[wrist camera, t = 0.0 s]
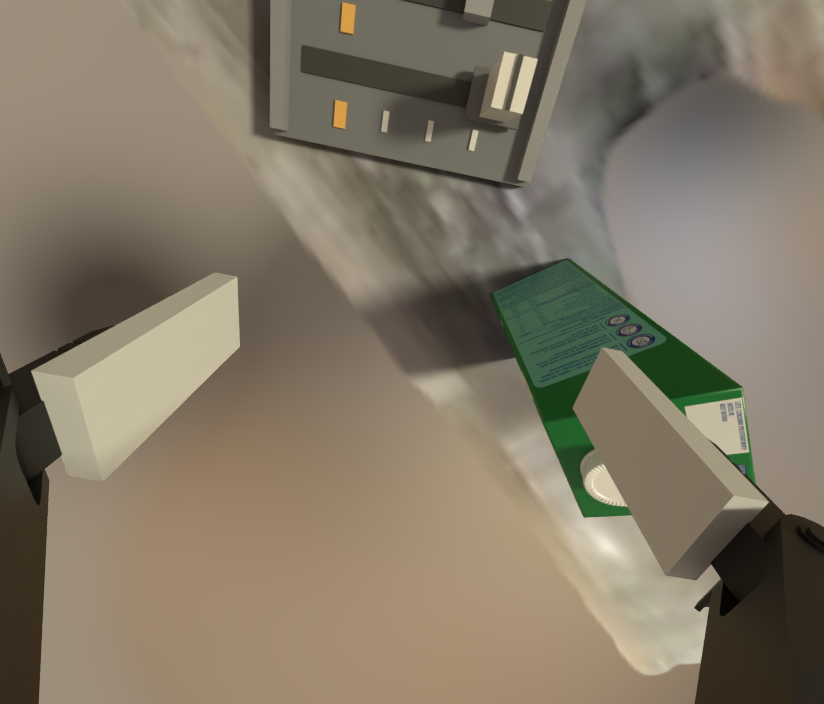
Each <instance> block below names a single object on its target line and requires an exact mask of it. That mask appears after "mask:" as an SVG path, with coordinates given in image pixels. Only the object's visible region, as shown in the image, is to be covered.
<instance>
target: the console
mask: <svg viewBox="0 0 824 704" xmlns="http://www.w3.org/2000/svg"><path fill="white" fill-rule="evenodd" d="M586 1H587V0H270V127H271V128H273V134H275V135H280V136H284V137H289V138H294V139H299V140H303V141H308V142H313V143H318V144H322V145H327V146H332V147H337V148H341V149H346V150H351V151H356V152H360V153H365V154H370V155H375V156H379V157H384V158H389V159H394V160H398V161H403V162H408V163H413V164H417V165H422V166H427V167H432V168H436V169H441V170H446V171H451V172H455V173H460V174H465V175H470V176H474V177H479V178H484V179H489V180H493V181H498V182H503V183H508V184H512V185H517V186H522V187H526V188H528V186H529V182H531V179H532V176H533V173H534V169H535V166H536V163H537V160H538V156H539V153H540V150H541V147H542V144H543V140H544V137H545V134H546V131H547V127H548V124H549V121H550V118H551V114H552V111H553V108H554V105H555V101H556V98H557V95H558V92H559V88H560V85H561V82H562V79H563V75H564V72H565V69H566V66H567V62H568V59H569V56H570V53H571V49H572V46H573V43H574V40H575V36H576V33H577V30H578V27H579V23H580V20H581V17H582V14H583V10H584V7H585V4H586ZM504 51H505V52H509V53H514V54H518V55H519V54H522V55H524V56H527V57H531V58H536V59H538V61H537V64H536V68H535V71H534V75H533V79H532V82H531V86H530V90H529V93H528V97H527V100H526V104H525V108H524V111H523V114H522V115H521V119H520V122H519V126H518V129H517V130H512V129H508V128H503V127H498V126H494V125H489V124H485V123H480V122H475V121H471V120H466V119H464V114H465V110H466V105H467V100H468V96H469V91H470V86H471V82H472V77H473V72H474V68H475V66H481V67H485V68H490V69H493V67H494V66H495V64H496V63H497V61H498V60H499V58H500V57H501V56H502V54H503V53H504Z"/></svg>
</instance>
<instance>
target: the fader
mask: <svg viewBox="0 0 824 704" xmlns="http://www.w3.org/2000/svg"><path fill="white" fill-rule="evenodd" d="M537 61H538V59H536V58H531V57H527V56H524V55H522V54H519V55H518V54H514V53H509V52H505V51H504V53H503V54H502V56H501V57H500V58H499V60H498V61H497V63H496V64H495V66H494V67H493V69H490V68H485V67H481V66H475V68H474V72H473V77H472V82H471V86H470V91H469V96H468V100H467V105H466V110H465V114H464V119H466V120H471V121H475V122H480V123H485V124H489V125H494V126H498V127H503V128H508V129H512V130H517V129H518V126H519V122H520V119H521V115H522V114H523V111H524V108H525V104H526V100H527V97H528V93H529V90H530V86H531V82H532V79H533V75H534V71H535V68H536V64H537Z"/></svg>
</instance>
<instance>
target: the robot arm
mask: <svg viewBox="0 0 824 704" xmlns="http://www.w3.org/2000/svg"><path fill="white" fill-rule="evenodd" d="M238 314H239V312H238V287H237V277H235V276H230V275H225V274H220V273H213V274H211V275H210V276H207V277H206V278H204V279H202V280H200V281H198V282H196V283H194V284H192V285H191V286H189V287H187V288H185V289H183V290H181V291H180V292H177V293H176V294H174V295H172V296H170V297H168V298H166V299H164V300H163V301H161V302H159V303H157V304H155V305H153V306H151V307H150V308H148V309H146V310H144V311H142V312H140V313H138V314H136V315H135V316H133V317H131V318H129V319H127V320H125V321H123V322H121V323H120V324H118V325H113V326H110V327H106V328H102V329H99V330H95V331H92V332H90V333H88V334H86V335H84V336H82V337H80V338H78V339H76V340H74V341H73V343H68V344H66V345H64V346H62V347H60V348H58V351H53V352H51V353H49V354H47V355H45V356H43V357H41V358H39V359H37V360H35V361H33V362H31V363H29V364H27V365H25V366H24V367H22V368H19V369H18V370H16V371H14V372H12V373H10V374H8V372H7V370H6V367H5V364H4V362H3V359H2V357H1V354H0V704H39V684H40V663H41V641H42V621H43V600H44V579H45V558H46V557H45V556H46V536H47V516H48V493H49V479H48V476H47V473H46V471H45V468H46V467H48V466H49V465H50V464H51V463H53V462H54V461H55V460H56V459H58V458H59V457H60V456H61V458H62V461H63V463H64V467H65V469H66V472H67V475H68V476H73V477H78V478H84V479H90V480H97V481H104V480H105V479H106V478H107V477H108V476H109V475H110V474H111V473H112V472H113V471H114V470H115V469H116V468H117V467H118V466H119V465H120V464H121V463H122V462H123V461H124V460H125V459H126V458H127V457H128V456H129V455H130V454H131V453H132V452H133V451H134V450H135V449H136V448H137V447H138V446H139V445H140V444H142V443H143V442H144V441H145V440H146V439H147V438H148V437H149V436H150V435H151V434H152V432H154V431H155V430H156V429H157V428H158V427H159V426H160V425H161V424H162V423H163V422H164V421H165V420H166V419H167V418H168V417H169V416H170V415H171V414H172V413H173V412H174V411H175V410H176V409H177V408H178V407H179V406H180V405H181V404H182V403H183V402H184V401H185V400H186V399H187V398H188V397H189V396H190V395H191V394H192V393H193V392H194V391H195V390H196V389H197V388H198V387H199V386H200V385H201V384H202V383H203V382H204V381H205V380H206V379H207V378H208V377H209V376H210V375H211V374H212V373H213V372H214V371H215V370H216V369H217V368H218V367H219V366H220V365H221V364H222V363H223V362H224V361H226V359H228V358H229V357H230V356H231V355H232V354H233V353H234V352H235V351H236V350H237V349H238V348H239V347H240V340H239V315H238ZM573 410H574V412H575V413H576V415H577V417H578V419H579V421H580V422H581V424H582V426H583V428H584V430H585V431H586V433H587V435H588V437H589V439H590V440H591V442H592V444H593V446H594V448H595V449H596V451H597V453H598V455H599V457H600V458H601V460H602V462H603V464H604V466H605V467H606V469H607V471H608V473H609V475H610V476H611V478H612V480H613V482H614V484H615V485H616V487H617V489H618V491H619V492H620V494H621V496H622V498H623V500H624V501H625V503H626V505H627V507H628V509H629V510H630V512H631V514H632V516H633V518H634V519H635V521H636V523H637V525H638V527H639V528H640V530H641V532H642V534H643V536H644V537H645V539H646V541H647V543H648V545H649V546H650V548H651V550H652V552H653V554H654V555H655V557H656V559H657V561H658V563H659V564H660V566H661V568H662V570H663V572H664V573H665V575H667V576H673V577H679V578H685V579H691V580H697V579H698V578H699V577H700V576H701V575H702V574H703V572H704V571H705V570H706V569H707V568H708V567H709V566H710V565H711V564H712V566H713V567H714V569H715V570H716V572H717V573H718V575H719V576H720V578H721V579H720V580H719V581H718V582H717V583H716V584H715V585H714V586H713V588H712V589H711V590H710V591H709V592H708V593H707V594H706V595H705V596H704V597H703V598H702V599H701V600H700V601H699V602H698V603H697V604H696V606H695V607H694V608H695V609H696V610H698V611H699V612H700V611H701V610H702V609H703V608H704V607H709V613H708V617H707V618H708V620H707V626H706V633H705V639H704V646H703V653H702V659H701V666H700V672H699V679H698V686H697V693H696V699H695V704H824V527H822V526H821V525H819V524H817V523H815V522H813V521H811V520H808V519H806V518H803V517H800V516H796V515H792V514H789V515H785V514H784V513H783V512H782V511H781V510H780V509H779V508H778V507H777V506H776V505H775V504H774V503H773V502H772V501H771V500H770V499H769V497H767V496H766V494H764V492H762V491H761V490H760V488H759V487H758V486H757V485H756V484H755V483H754V482H753V481H752V480H751V479H750V478H749V477H748V476H747V475H746V474H742V470H741V469H740V468H739V467H738V466H737V465H736V464H735V463H734V462H731V459H730V458H729V457H728V456H727V455H726V454H725V453H724V452H723V451H722V450H721V449H720V448H719V447H718V446H717V445H716V444H715V443H713V442H712V441H710V440H709V439H708V438H706V437H705V436H704V435H703V434H702V433H701V432H700V430H699V429H698V428H697V427H696V426H695V425H694V424H693V423H692V422H691V421H690V420H689V419H688V418H687V417H686V416H685V415H684V414H683V413H682V412H681V411H680V410H679V409H678V408H677V407H676V406H675V405H674V404H673V403H672V402H671V401H670V400H669V399H668V398H667V397H666V396H665V395H664V394H663V393H662V391H661V390H660V389H659V388H658V387H657V386H656V385H655V384H654V383H653V382H652V381H651V380H650V379H649V378H648V377H647V376H646V375H645V374H644V373H643V372H642V371H641V370H640V369H639V368H638V367H637V366H636V365H635V364H634V363H633V362H632V361H631V360H630V359H629V358H628V357H627V356H626V355H625V354H624V352H623V351H619V350H614V349H609V348H603V347H602V348H601V350H600V352H599V354H598V356H597V358H596V360H595V362H594V364H593V367H592V369H591V371H590V373H589V375H588V377H587V379H586V381H585V383H584V385H583V387H582V389H581V391H580V393H579V395H578V398H577V400H576V402H575V404H574V406H573Z"/></svg>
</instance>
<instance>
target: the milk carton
mask: <svg viewBox="0 0 824 704" xmlns="http://www.w3.org/2000/svg"><path fill="white" fill-rule="evenodd" d="M490 297H491V300H492V302H493V305H494V307H495V310H496V312H497V314H498V317H499V319H500V322H501V324H502V326H503V329H504V331H505V334H506V336H507V338H508V341H509V343H510V346H511V348H512V351H513V353H514V355H515V358H516V360H517V363H518V365H519V367H520V370H521V372H522V375H523V377H524V380H525V382H526V384H527V387H528V389H529V392H530V394H531V396H532V399H533V401H534V404H535V406H536V409H537V411H538V413H539V416H540V418H541V421H542V423H543V425H544V428H545V430H546V432H547V435H548V437H549V439H550V441H551V444H552V446H553V448H554V451H555V453H556V455H557V458H558V460H559V462H560V464H561V467H562V469H563V471H564V474H565V476H566V478H567V481H568V483H569V485H570V487H571V490H572V492H573V494H574V497H575V499H576V501H577V504H578V506H579V508H580V510H581V513H582V515H583V517H584V518H585V517H605V516H626V515H632V514H631V512H630V510H629V509H628V507H627V505H626V503H625V501H624V500H623V498H622V496H621V494H620V492H619V491H618V489H617V487H616V485H615V484H614V482H613V480H612V478H611V476H610V475H609V473H608V471H607V469H606V467H605V466H604V464H603V462H602V460H601V458H600V457H599V455H598V453H597V451H596V449H595V448H594V446H593V444H592V442H591V440H590V439H589V437H588V435H587V433H586V431H585V430H584V428H583V426H582V424H581V422H580V421H579V419H578V417H577V415H576V413H575V412H574V410H573V406H574V404H575V402H576V400H577V398H578V395H579V393H580V391H581V389H582V387H583V385H584V383H585V381H586V379H587V377H588V375H589V373H590V371H591V369H592V367H593V364H594V362H595V360H596V358H597V356H598V354H599V352H600V350H601V348H602V347H603V348H609V349H614V350H619V351H623V352H624V354H625V355H626V356H627V357H628V358H629V359H630V360H631V361H632V362H633V363H634V364H635V365H636V366H637V367H638V368H639V369H640V370H641V371H642V372H643V373H644V374H645V375H646V376H647V377H648V378H649V379H650V380H651V381H652V382H653V383H654V384H655V385H656V386H657V387H658V388H659V389H660V390H661V391H662V393H663V394H664V395H665V396H666V397H667V398H668V399H669V400H670V401H671V402H672V403H673V404H674V405H675V406H676V407H677V408H678V409H679V410H680V411H681V412H682V413H683V414H684V415H685V416H686V417H687V418H688V419H689V420H690V421H691V422H692V423H693V424H694V425H695V426H696V427H697V428H698V429H699V430H700V432H701V433H702V434H703V435H704V436H705V437H706V438H708V439H709V440H710V441H712V442H713V443H715V444H716V445H717V446H718V447H719V448H720V449H721V450H722V451H723V452H724V453H725V454H726V455H727V456H728V457H729V458H730V459H731V462H734V463H735V464H736V465H737V466H738V467H739V468H740V469H741V470H742V474H746V475H747V476H748V477H749V478H750V479H751V480H752V481H753V482H754V483H755V476H754V468H753V461H752V453H751V446H750V438H749V430H748V423H747V415H746V408H745V400H744V393H743V387H742V386H740V385H739V384H738V383H736V382H735V381H734V380H732V379H731V378H730V377H728V376H727V375H726V374H724V373H723V372H721V371H720V370H718V369H717V368H716V367H715V366H713V365H712V364H711V363H709V362H708V361H707V360H705V359H704V358H702V357H701V356H700V355H698V354H697V353H696V352H695V351H693V350H692V349H690V348H689V347H688V346H686V345H685V344H684V343H682V342H681V341H680V340H678V339H677V338H676V337H674V336H673V335H671V334H670V333H669V332H668V331H666V330H665V329H664V328H662V327H661V326H659V325H658V324H657V323H656V322H654V321H653V320H651V319H650V318H649V317H647V316H646V315H645V314H643V313H642V312H641V311H639V310H638V309H637V308H635V307H634V306H633V305H631V304H630V303H629V302H627V301H626V300H625V299H623V298H622V297H621V296H619V295H618V294H617V293H615V292H614V291H612V290H611V289H610V288H608V287H607V286H606V285H604V284H603V283H602V282H600V281H599V280H598V279H596V278H595V277H594V276H592V275H591V274H590V273H588V272H587V271H586V270H584V269H583V268H582V267H580V266H579V265H577V264H576V263H575V262H573V261H572V260H571V259H567V260H564V261H562V262H560V263H558V264H555V265H553V266H551V267H549V268H546V269H544V270H542V271H540V272H537V273H535V274H533V275H531V276H529V277H526V278H524V279H522V280H520V281H517V282H515V283H513V284H511V285H508V286H506V287H504V288H502V289H499V290H497V291H495V292H493V293H490ZM755 484H756V483H755Z"/></svg>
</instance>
